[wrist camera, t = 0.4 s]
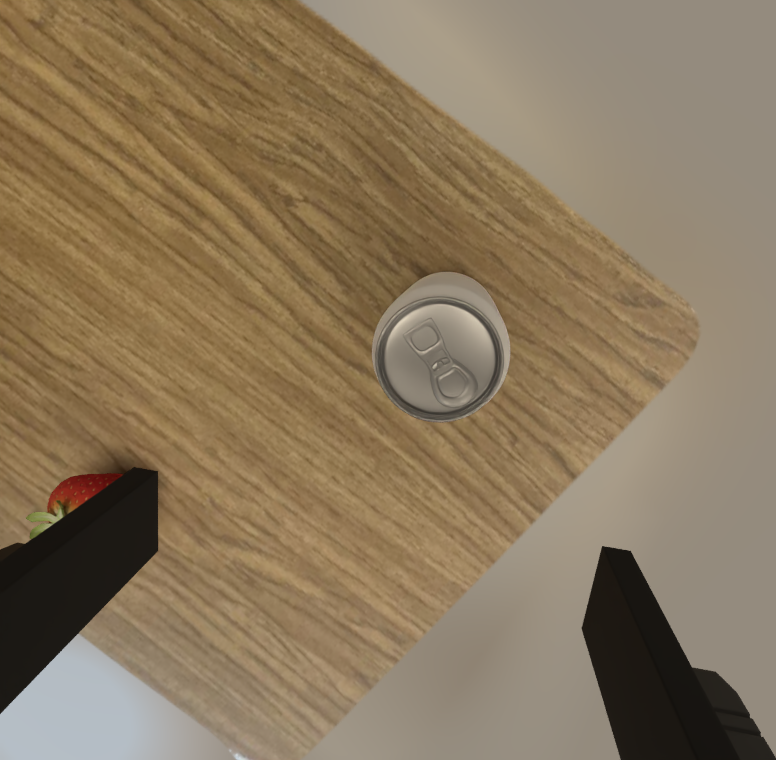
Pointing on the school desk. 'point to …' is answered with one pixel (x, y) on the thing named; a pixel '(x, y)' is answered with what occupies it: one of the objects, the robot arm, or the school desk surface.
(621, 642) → the robot arm
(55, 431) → the school desk surface
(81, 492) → the fruit
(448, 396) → the can
